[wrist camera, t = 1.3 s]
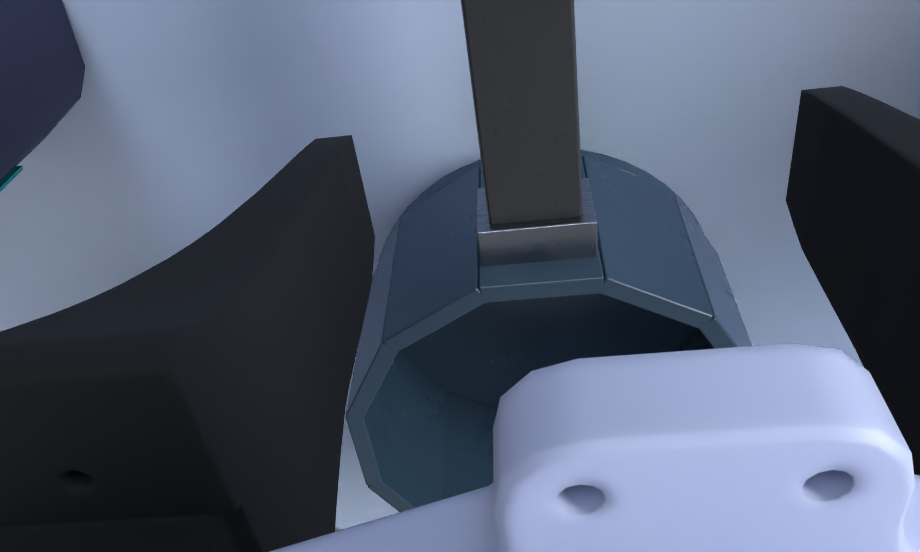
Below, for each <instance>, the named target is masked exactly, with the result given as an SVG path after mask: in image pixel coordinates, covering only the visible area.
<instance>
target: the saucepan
mask: <svg viewBox="0 0 920 552" xmlns="http://www.w3.org/2000/svg"><path fill="white" fill-rule="evenodd" d="M461 5H462V13H463V20H464V28H465V36H466V44H467V52H468V60H469V68H470V76H471V84H472V92H473V99H474V107H475V115H476V123H477V131H478V139H479V147H480V155H481V160H480V161H477V162H475V163H472V164H470V165H467V166H465V167H462V168H460V169H458V170H457V171H455V172H453V173H451V174H449V175H448V176H446V177H444V178H442V179H441V180H439V181H438V182H436V183H435V184H434V185H432V186H431V187H430V188H428V189H427V190H426V191H424V192H423V193H422V194H421V195H420V196H419V197H418V198H417V199H416V200H415V201H414V202H413V203H412V204H411V205H410V206H408V207H407V209H406V210H405V211H404V213H403V214H402V215H401V217H400V218H399V219H398V220H397V222H396V223H395V225H394V226H393V228H392V230H391V232H390V234H389V236H388V237H387V239H386V241H385V244H384V247H383V250H382V253H381V255H380V259H379V264H378V266H377V268H376V270H375V273H374V275H373V277H372V285H371V289H370V294H369V299H368V304H367V308H366V313H365V317H364V322H363V326H362V331H361V335H360V340H359V345H358V350H357V356H356V361H355V367H354V372H353V378H352V383H351V389H350V395H349V400H348V406H347V411H346V420H347V423H348V427H349V430H350V433H351V436H352V440H353V443H354V446H355V449H356V453H357V456H358V459H359V462H360V466H361V469H362V472H363V475H364V478H365V482H366V485H368V488H370V489H371V490H372V491H373V492H375V493H376V494H377V495H379V496H380V497H381V498H382V499H384V500H385V501H386V502H388V503H389V504H390V505H391V506H393V507H394V508H395V509H396V510H398V511H399V512H403V511H406V510H410V509H413V508H416V507H420V506H423V505H426V504H430V503H433V502H436V501H440V500H443V499H446V498H450V497H453V496H456V495H460V494H463V493H466V492H470V491H473V490H476V489H480V488H483V487H486V486H489V485H491V484H492V483H493V426H494V422H495V418H496V413H497V409H498V405H499V401H500V397H501V396H502V395H504V394H505V393H506V392H507V391H508V390H509V389H511V388H512V387H513V386H514V385H515V384H517V383H518V382H519V381H520V380H521V379H522V378H524V377H525V376H526V375H527V374H528V373H530V372H531V371H533V370H537V369H541V368H545V367H548V366H552V365H556V364H559V363H563V362H567V361H571V360H574V359H579V358H593V357H607V356H621V355H635V354H649V353H662V352H676V351H690V350H704V349H718V348H732V347H745V346H752V345H751V342H750V339H749V337H748V334H747V331H746V329H745V326H744V323H743V321H742V318H741V315H740V313H739V310H738V307H737V305H736V302H735V299H734V297H733V294H732V291H731V288H730V286H729V283H728V280H727V278H726V275H725V272H724V270H723V267H722V264H721V262H720V259H719V256H718V254H717V253H716V251H715V250H714V248H713V247H712V245H711V244H710V243H709V241H708V240H707V238H706V237H705V235H704V233H703V230H702V228H701V226H700V225H699V223H698V221H697V220H696V218H695V216H694V214H693V213H692V212H691V210H690V209H689V208H688V207H687V206H686V204H685V203H684V202H683V201H682V199H681V198H680V197H679V196H678V195H676V194H675V193H674V192H673V191H672V190H671V189H670V188H669V187H667V186H666V185H665V184H664V183H662V182H661V181H659V180H658V179H656V178H655V177H653V176H652V175H650V174H649V173H647V172H645V171H643V170H641V169H639V168H637V167H635V166H633V165H631V164H629V163H627V162H624V161H621V160H618V159H615V158H612V157H609V156H606V155H603V154H597V153H592V152H587V151H582V150H580V135H579V111H578V88H577V64H576V40H575V17H574V0H461Z"/></svg>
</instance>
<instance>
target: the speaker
mask: <svg viewBox="0 0 920 552" xmlns="http://www.w3.org/2000/svg"><path fill="white" fill-rule="evenodd" d="M84 71H85V65H84V62H83V60H82V57H81V54H80V51H79V48H78V45H77V42H76V40H75V37H74V34H73V31H72V28H71V25H70V22H69V20H68V17H67V14H66V11H65V8H64V5H63V2H62V0H0V192H1V191H2V190H3V189H4V188H5V186H6V185H7V184H8V183H9V182H10V181H11V180H12V179H13V178H14V177H15V176H16V175H17V174H18V173H19V172H20V171H21V170H22V169H23V168H22V166H17V165H18V164H19V163H20V162H21V161H22V160H23V159H24V158H25V157H26V156H27V155H28V154H29V153H30V152H31V151H32V150H33V149H34V148H35V147H36V146H37V145H38V144H39V143H40V142H41V141H42V140H43V139H44V138H45V137H46V136H47V135H48V134H49V133H50V132H51V130H52V129H53V128H54V127H55V126H56V125H57V124H58V122H59V121H60V120H61V119H62V118H63V117H64V116H65V114H66V113H67V112H68V111H69V110H70V109H71V108H72V106H73V105H74V104H75V103H76V102H77V101H78V100H79V99H80V97H81V91H82V84H83V78H84Z"/></svg>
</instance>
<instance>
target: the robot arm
mask: <svg viewBox="0 0 920 552" xmlns="http://www.w3.org/2000/svg"><path fill="white" fill-rule="evenodd" d="M786 202H787V205H788V209H789V212H790V215H791V218H792V221H793V225H794V228H795V230H796V233H797V236H798V239H799V242H800V245H801V247H802V250H803V252H804V254H805V256H806V258H807V260H808V262H809V264H810V265H811V267H812V269H813V271H814V273H815V275H816V277H817V279H818V281H819V283H820V284H821V286H822V288H823V290H824V292H825V294H826V296H827V297H828V299H829V301H830V303H831V305H832V307H833V309H834V310H835V312H836V314H837V316H838V318H839V320H840V322H841V323H842V325H843V327H844V329H845V331H846V333H847V335H848V336H849V338H850V340H851V342H852V344H853V346H854V348H855V349H856V352H857V354H858V356H859V358H860V360H861V362H862V364H863V366H864V367H862V366H861V365H860V364H858V363H857V362H856V361H854V360H853V359H852V358H850V357H849V356H848V355H846V354H845V353H844V352H842V351H841V350H840V349H834V348H826V347H818V346H810V345H801V344H793V343H787V344H773V345H759V346H745V347H732V348H718V349H704V350H690V351H676V352H662V353H649V354H635V355H621V356H607V357H593V358H579V359H574V360H571V361H567V362H563V363H559V364H556V365H552V366H548V367H545V368H541V369H537V370H533V371H531V372H530V373H528V374H527V375H526V376H525V377H524V378H522V379H521V380H520V381H519V382H518V383H517V384H515V385H514V386H513V387H512V388H511V389H509V390H508V391H507V392H506V393H505V394H504V395H502V396H501V397H500V401H499V405H498V409H497V413H496V418H495V422H494V426H493V483H492V484H491V485H489V486H486V487H483V488H480V489H476V490H473V491H470V492H466V493H463V494H460V495H456V496H453V497H450V498H446V499H443V500H440V501H436V502H433V503H430V504H426V505H423V506H420V507H416V508H413V509H410V510H406V511H403V512H400V513H396V514H393V515H390V516H386V517H383V518H380V519H376V520H373V521H370V522H366V523H363V524H360V525H356V526H353V527H350V528H346V529H343V530H340V531H336V532H335V520H336V504H337V492H338V479H339V467H340V455H341V445H342V435H343V425H344V415H345V406H346V401H347V395H348V389H349V384H350V379H351V375H352V370H353V366H354V362H355V357H356V353H357V348H358V344H359V340H360V335H361V331H362V326H363V322H364V317H365V313H366V308H367V304H368V299H369V294H370V289H371V285H372V273H373V260H374V242H375V235H374V231H373V226H372V222H371V217H370V213H369V209H368V204H367V200H366V196H365V191H364V187H363V182H362V178H361V174H360V169H359V165H358V161H357V156H356V152H355V147H354V143H353V139H352V135H349V136H339V137H329V138H319V139H315V140H314V141H312V142H311V143H310V144H309V145H307V146H306V147H305V148H304V149H303V150H302V151H301V152H300V153H298V154H297V155H296V156H295V157H294V158H293V159H292V160H291V161H290V162H289V163H288V164H287V165H286V166H285V167H284V168H283V169H282V170H280V171H279V172H278V173H277V174H276V175H275V176H274V177H273V178H272V179H271V180H270V181H269V182H268V183H266V184H265V185H264V186H263V187H262V188H261V189H260V190H259V191H258V192H257V193H256V194H254V195H253V196H252V197H251V198H250V199H248V200H247V201H246V202H245V203H244V204H242V205H241V206H240V207H239V208H238V209H236V210H235V211H234V212H233V213H232V214H230V215H229V216H228V217H227V218H226V219H224V220H223V221H222V222H221V223H220V224H218V225H217V226H216V227H214V228H213V229H212V230H210V231H209V232H207V233H206V234H205V235H203V236H202V237H200V238H199V239H198V240H196V241H195V242H193V243H192V244H190V245H189V246H187V247H185V248H184V249H182V250H181V251H179V252H178V253H176V254H175V255H173V256H171V257H170V258H168V259H167V260H165V261H163V262H161V263H159V264H157V265H156V266H154V267H152V268H150V269H148V270H146V271H145V272H143V273H141V274H139V275H137V276H135V277H134V278H132V279H130V280H128V281H126V282H125V283H123V284H120V285H118V286H116V287H114V288H112V289H110V290H108V291H106V292H103V293H101V294H99V295H97V296H95V297H93V298H90V299H88V300H85V301H83V302H81V303H78V304H76V305H74V306H71V307H69V308H66V309H64V310H61V311H59V312H56V313H53V314H51V315H48V316H45V317H42V318H39V319H36V320H33V321H30V322H28V323H25V324H22V325H19V326H16V327H13V328H10V329H7V330H4V331H1V332H0V552H920V120H919V119H917V118H915V117H913V116H911V115H909V114H906V113H904V112H902V111H900V110H898V109H896V108H894V107H892V106H889V105H887V104H885V103H883V102H881V101H879V100H876V99H874V98H872V97H870V96H867V95H865V94H863V93H860V92H858V91H855V90H853V89H850V88H846V87H843V86H838V87H828V88H818V89H808V90H801V97H800V104H799V111H798V118H797V125H796V132H795V139H794V146H793V154H792V161H791V168H790V175H789V182H788V189H787V196H786Z"/></svg>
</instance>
